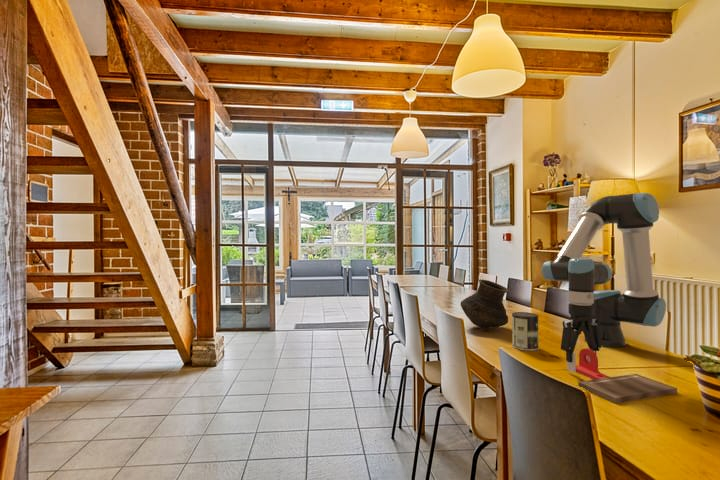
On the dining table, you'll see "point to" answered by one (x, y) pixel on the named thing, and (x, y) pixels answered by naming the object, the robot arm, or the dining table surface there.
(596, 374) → the bracket
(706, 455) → the dining table surface
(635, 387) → the walnut board
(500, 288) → the ceramic pot
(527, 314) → the coffee can
